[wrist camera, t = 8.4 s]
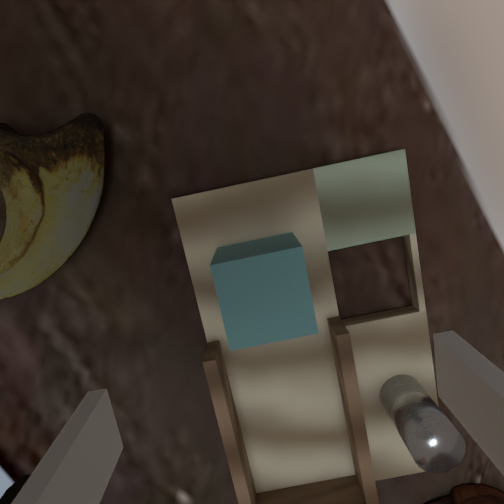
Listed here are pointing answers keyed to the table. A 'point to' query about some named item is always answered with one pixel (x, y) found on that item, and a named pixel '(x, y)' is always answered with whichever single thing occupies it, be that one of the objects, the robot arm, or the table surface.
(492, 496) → the wooden figurine
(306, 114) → the table surface
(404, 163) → the board
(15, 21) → the table surface
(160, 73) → the table surface
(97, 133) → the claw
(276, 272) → the block
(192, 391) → the table surface
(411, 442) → the grey knob
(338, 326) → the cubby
